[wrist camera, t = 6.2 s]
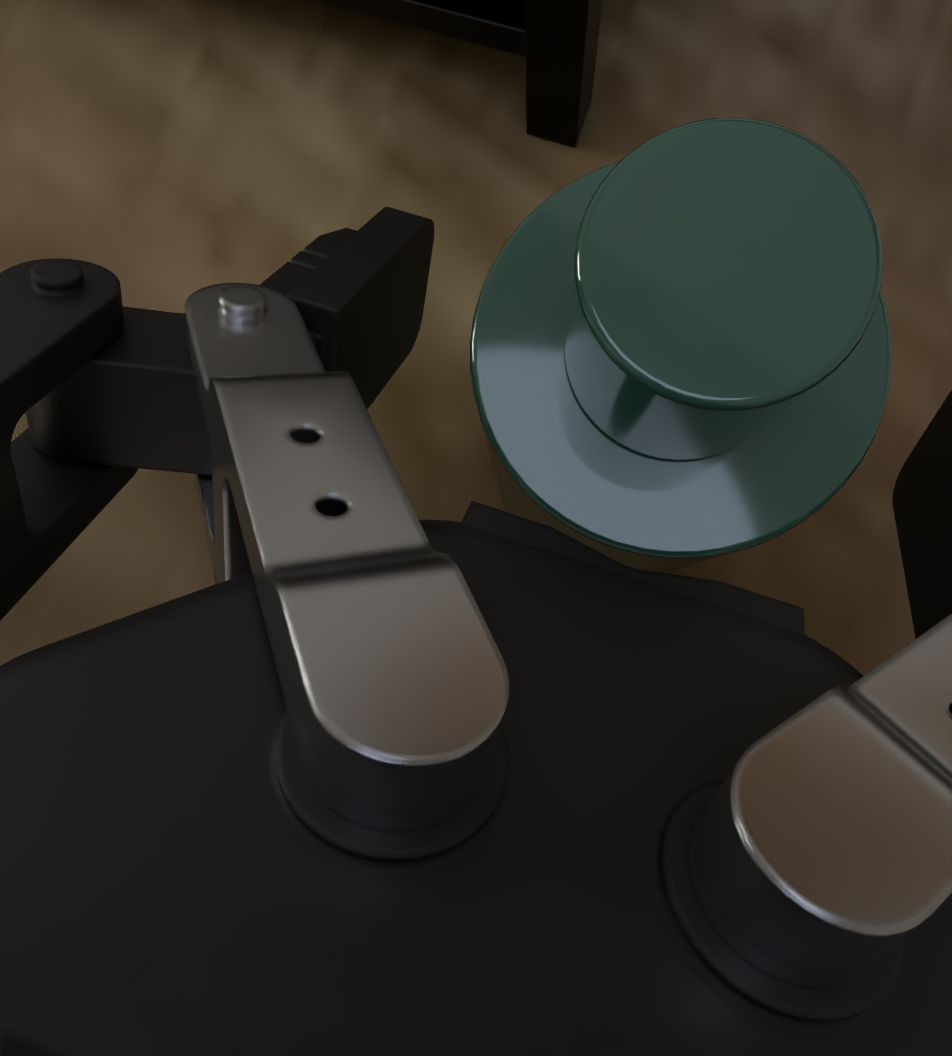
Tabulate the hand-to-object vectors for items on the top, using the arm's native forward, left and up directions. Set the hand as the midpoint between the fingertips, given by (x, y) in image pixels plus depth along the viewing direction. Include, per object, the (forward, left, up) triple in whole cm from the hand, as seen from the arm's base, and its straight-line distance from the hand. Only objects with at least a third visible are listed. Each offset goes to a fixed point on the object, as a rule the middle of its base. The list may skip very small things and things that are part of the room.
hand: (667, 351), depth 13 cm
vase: (0, -1, -6) cm, 6 cm away
